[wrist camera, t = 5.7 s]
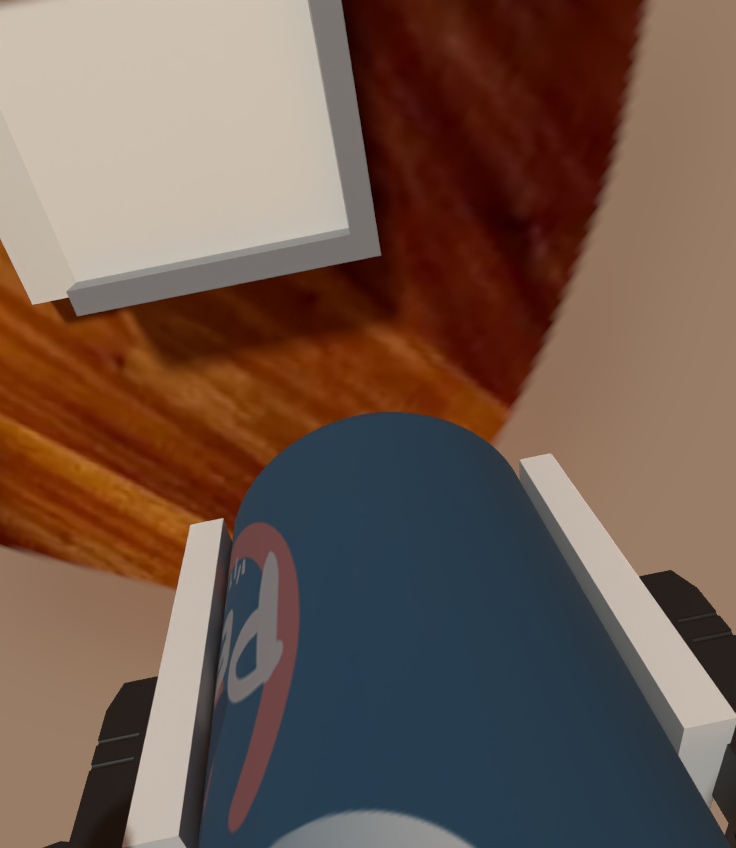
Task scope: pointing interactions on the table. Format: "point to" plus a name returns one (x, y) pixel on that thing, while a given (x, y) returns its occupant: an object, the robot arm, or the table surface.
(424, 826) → the soda can
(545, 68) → the table surface
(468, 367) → the table surface
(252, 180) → the dock
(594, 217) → the table surface
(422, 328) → the table surface
